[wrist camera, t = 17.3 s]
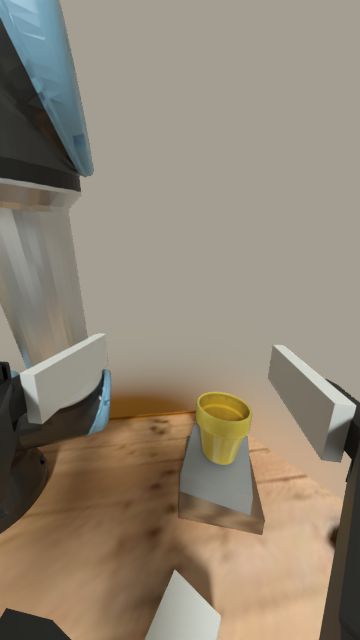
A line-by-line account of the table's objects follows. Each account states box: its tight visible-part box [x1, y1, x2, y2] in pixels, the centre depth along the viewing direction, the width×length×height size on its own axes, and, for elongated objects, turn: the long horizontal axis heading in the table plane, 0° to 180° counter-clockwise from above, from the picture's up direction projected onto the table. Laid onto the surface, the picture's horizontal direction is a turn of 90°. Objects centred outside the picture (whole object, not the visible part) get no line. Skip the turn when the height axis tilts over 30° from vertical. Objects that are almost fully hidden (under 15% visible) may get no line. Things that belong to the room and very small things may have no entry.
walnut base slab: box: [178, 436, 265, 535], centre depth 38 cm, size 14×14×4 cm
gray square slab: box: [180, 424, 253, 515], centre depth 37 cm, size 12×12×4 cm
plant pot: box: [196, 392, 252, 465], centre depth 36 cm, size 10×10×10 cm
